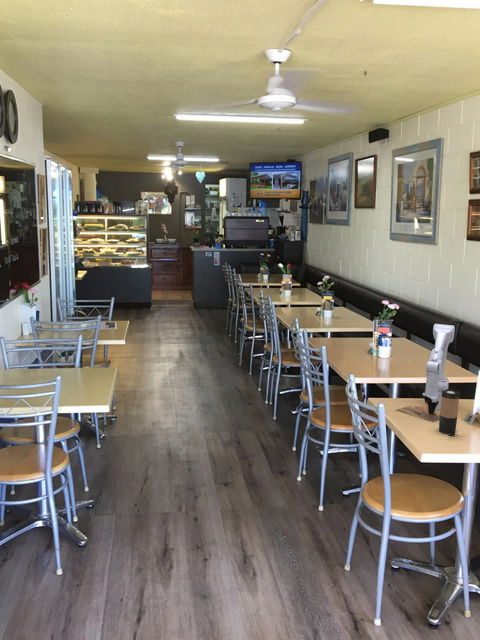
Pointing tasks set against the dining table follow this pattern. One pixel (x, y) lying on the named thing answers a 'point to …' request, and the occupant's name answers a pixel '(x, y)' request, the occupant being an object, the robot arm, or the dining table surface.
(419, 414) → the board
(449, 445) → the dining table surface
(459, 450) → the dining table surface
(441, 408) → the travel mug
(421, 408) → the cylinder with stick handle
